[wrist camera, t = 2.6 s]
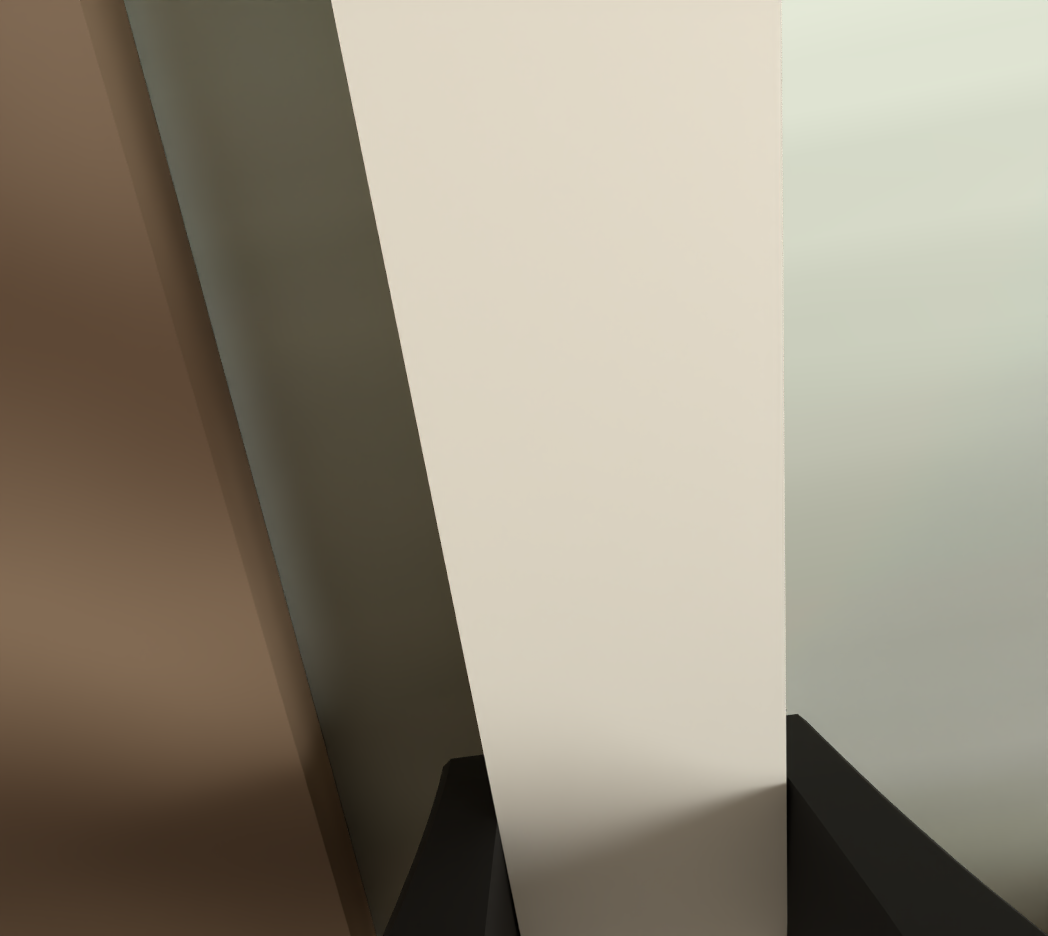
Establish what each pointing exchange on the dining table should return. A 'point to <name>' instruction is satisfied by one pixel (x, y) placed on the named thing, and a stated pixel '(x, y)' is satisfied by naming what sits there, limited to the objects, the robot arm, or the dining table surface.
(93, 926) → the frame board
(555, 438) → the slat
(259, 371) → the dining table surface
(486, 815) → the robot arm
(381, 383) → the dining table surface
